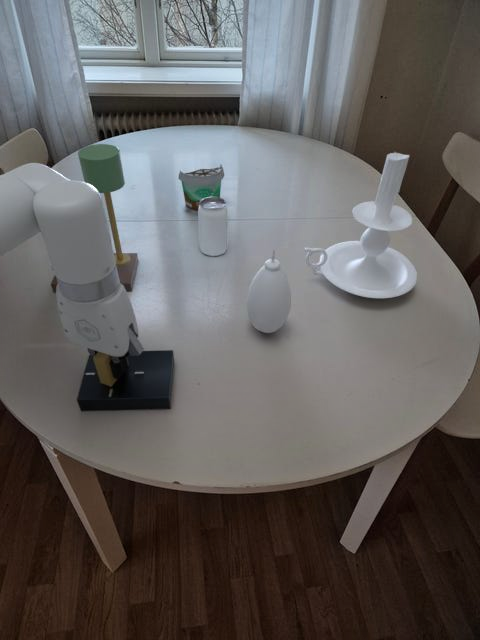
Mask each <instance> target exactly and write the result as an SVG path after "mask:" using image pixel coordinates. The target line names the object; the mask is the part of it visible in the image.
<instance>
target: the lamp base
mask: <svg viewBox="0 0 480 640" xmlns="http://www.w3.org/2000/svg"><path fill="white" fill-rule="evenodd" d="M124 253H125V254H128V255H129V256H130V262H129V263H128V264H126V265H124V266H116V267H117V271H118V276H119V280H120V283H121V284H122V285H123V286H124V288H125V290H126V292H127V293H129V292H133V288H134V283H135V279H136V274H137V270H138V264H139V256H138V253H137V252H124ZM115 254H116V252H114V255H115ZM57 285H58V282H57V279H56V276H55V275H54V276H53V278H52V280H51V282H50V286H51V289H52V292H53V293H56V287H57Z"/></svg>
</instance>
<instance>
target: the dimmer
mask: <svg viewBox="0 0 480 640" xmlns="http://www.w3.org/2000/svg"><path fill="white" fill-rule="evenodd" d="M93 357H94V356H93V355H91V354H90V353H89V355H88V358H87V361H86V365H85V369H84V372H83V376H82V379H81V383H80V386H79V390H78V393H77V396H76V402H77V405H78V407H79V409H80V412H105V411H107V412H108V411H109V412H110V411H141V410H142V411H144V410H145V411H147V410H171V407H172V396H173V385H174V384H173V383H174V373H175V372H174V371H175V354H174V350H173V349H168V350H163V349H162V350H159V349H158V350H143V351H142V353H141V354H140V355H139V356H130V355H128V357H127V360H128V369H127V370H126V372H125V373H123V374H122V375H121V376H120V378H119V379H117V380H116V381H115V383H114V384H113V385H112V387H111V386H108V385H105V384H102V383H101V382H100V379H99V376H98V372H97V369H96V366H95V363H94V360H93Z"/></svg>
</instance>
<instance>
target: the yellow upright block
mask: <svg viewBox="0 0 480 640" xmlns="http://www.w3.org/2000/svg"><path fill="white" fill-rule="evenodd" d="M126 359H127V357H126ZM93 360H94V363H95V366H96V369H97V372H98V376H99V379H100V382H101V383H102V384H105V385H108V386H111V387H112V385H113V384H114V383H115V381H116V380H117V379H115V378H114V377H113V374H112V370H111V366H110V361H111V360H112V359H111V355H108V354H105V353H102V352H97V354H96V355H95V356H94V357H93ZM127 363H128V360H127Z"/></svg>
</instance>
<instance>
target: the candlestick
mask: <svg viewBox="0 0 480 640" xmlns="http://www.w3.org/2000/svg"><path fill="white" fill-rule="evenodd" d="M409 159H410V154H403V153H399V152H396V151H394V152H390V153H388V154H386V158H385V162H384V166H383V170H382V173H381V177H380V181H379V185H378V189H377V193H376V197H375V200H371V201H370V200H369V201H364V202H361V203H358V204H356V205H355V206H354V207H353V208H352V210H351V211H352V212H351V213H352V216H353V218H354V219H355V220H356V221H357V222H358V223H360V224H361V225H363V226H366V227H368V228H366V230H365V231H364V232H363V233H362V234H361V236H360V240H348V241H342V242H338V243H335V244H332V245H330V246H329V247H327V248H326V249H324V248H321V247H314V248H311V247H304V251H305V252H307V253H306V255H305V259H304V260H305V263H306V264H307V266H308V267H310V270H311V274H312V275H315V276H324V277H325V278H326V280H328V281H329V282H330V283H331V284H332V285H333V286H335V287H336V288H339V289H340V290H342V291H344V292H346V293H348V294H352V295H355V296H359V297H362V298H367V299H392V298H396V297H400V296H403V295H405V294H406V293H408V292H410V291H411V290H412V289H413V288H414V287H415V286H416V284H417V281H418V272H417V270H416V266H415V265H414V264H413V263H412V262H411V260H410V259H408V257H406V256H405V255H404V254H402V253H401V252H400V251H398V250H397V249H393V248H392V247H389V246H390V243H391V242H390V241H391V239H390V235H389V232H396V231H402V230H405V229H407V228H409V227H410V226H411V225H412V224H413V217H412V215H411V213H409V211H408V210H406V209H405V208H403V207H401V206H398V205H396V201H397V198H398V194H399V193H400V190H401V186H402V182H403V179H404V176H405V173H406V169H407V167H408V162H409ZM317 253H320V256H319V262H317V263H313V262H311V261H310V258H311V256H313V255H314V254H317ZM319 268H320V270H317V269H319Z"/></svg>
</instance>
